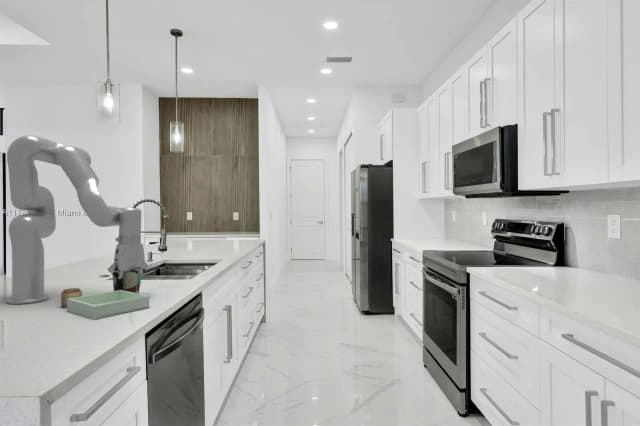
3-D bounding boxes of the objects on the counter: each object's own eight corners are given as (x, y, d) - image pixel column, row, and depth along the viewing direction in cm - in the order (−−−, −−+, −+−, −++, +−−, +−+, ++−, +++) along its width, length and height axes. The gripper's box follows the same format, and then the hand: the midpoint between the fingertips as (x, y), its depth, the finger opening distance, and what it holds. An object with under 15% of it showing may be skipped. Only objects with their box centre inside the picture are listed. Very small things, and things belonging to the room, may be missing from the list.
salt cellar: (57, 306, 136) (57, 290, 136) (76, 303, 141) (76, 287, 141) (66, 309, 133) (66, 292, 133) (84, 305, 138) (84, 289, 138)
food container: (149, 292, 153) (150, 266, 153) (139, 296, 147) (140, 269, 147) (121, 290, 156) (122, 265, 155) (110, 293, 149) (111, 267, 149)
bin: (66, 311, 131) (66, 298, 130) (120, 300, 145) (120, 289, 145) (94, 319, 120) (94, 306, 120) (149, 307, 135) (149, 296, 135)
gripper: (112, 242, 141) (110, 292, 141) (156, 240, 155) (154, 286, 155) (101, 240, 145) (99, 289, 145) (145, 238, 160) (143, 283, 160)
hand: (128, 287), depth 150 cm, fingers closed on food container, 6 cm apart
